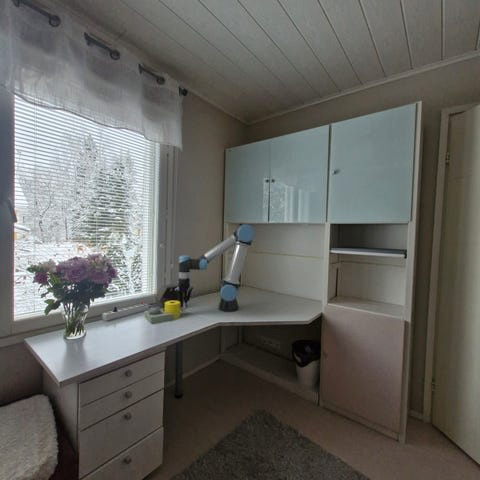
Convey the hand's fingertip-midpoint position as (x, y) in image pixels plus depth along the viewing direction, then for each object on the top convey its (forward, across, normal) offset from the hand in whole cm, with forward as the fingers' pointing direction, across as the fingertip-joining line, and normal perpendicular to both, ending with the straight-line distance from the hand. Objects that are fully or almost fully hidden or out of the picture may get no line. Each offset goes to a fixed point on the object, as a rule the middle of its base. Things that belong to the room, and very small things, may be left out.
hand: (183, 311), depth 178 cm
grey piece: (+2, +17, 0) cm, 17 cm away
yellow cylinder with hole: (+2, +8, +1) cm, 9 cm away
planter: (+2, +5, -15) cm, 16 cm away
